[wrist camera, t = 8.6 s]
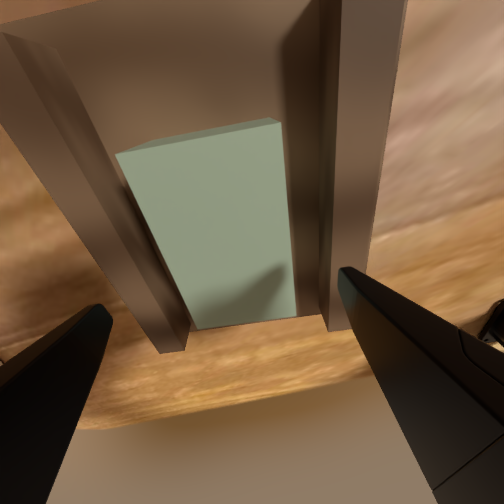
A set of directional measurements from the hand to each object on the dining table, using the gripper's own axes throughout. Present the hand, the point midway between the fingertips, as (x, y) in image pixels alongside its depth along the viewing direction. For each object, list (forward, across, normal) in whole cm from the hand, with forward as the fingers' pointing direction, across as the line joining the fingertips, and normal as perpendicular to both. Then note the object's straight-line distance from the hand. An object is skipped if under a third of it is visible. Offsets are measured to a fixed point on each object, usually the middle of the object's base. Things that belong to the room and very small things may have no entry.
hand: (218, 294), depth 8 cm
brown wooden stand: (+9, 0, 0) cm, 9 cm away
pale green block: (+7, 0, 0) cm, 7 cm away
